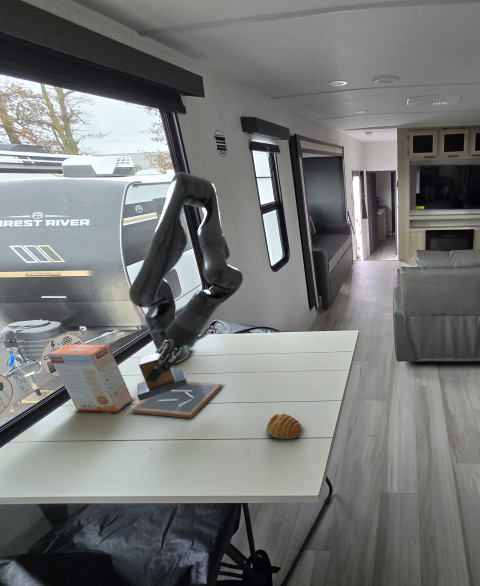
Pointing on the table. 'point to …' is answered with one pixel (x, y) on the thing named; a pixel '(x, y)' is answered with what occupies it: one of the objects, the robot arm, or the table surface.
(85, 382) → the cracker box
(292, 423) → the pastry
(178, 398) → the board
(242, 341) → the table surface
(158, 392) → the eraser
